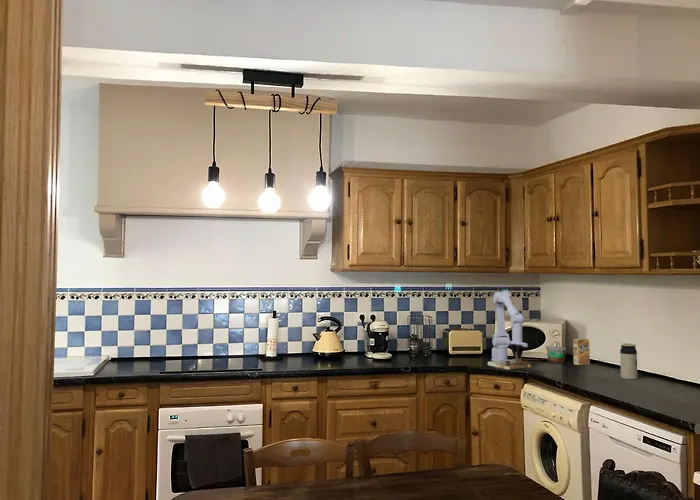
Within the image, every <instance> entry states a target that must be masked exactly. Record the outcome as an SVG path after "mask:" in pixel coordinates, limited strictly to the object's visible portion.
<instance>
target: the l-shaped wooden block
mask: <svg viewBox="0 0 700 500" xmlns="http://www.w3.org/2000/svg"><path fill="white" fill-rule="evenodd" d="M522 357H523V355H522V356H521V358H518V357H517V352H515V359H516V363H510V370H514V369H521V368H529V367H528V363H529V362H528V361H523V360H522V359H523V358H522Z"/></svg>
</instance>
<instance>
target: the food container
mask: <svg viewBox="0 0 700 500" xmlns="http://www.w3.org/2000/svg"><path fill="white" fill-rule="evenodd" d="M545 349H546V353H547V361H548V362H549V363H551V364H552V363H553V364H562V363H565V355H566V351H567V347H566V346H550V345H546V346H545Z"/></svg>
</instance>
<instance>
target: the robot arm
mask: <svg viewBox="0 0 700 500" xmlns="http://www.w3.org/2000/svg"><path fill="white" fill-rule="evenodd" d="M492 298H493V299H492V300H493V305H494V306H495V313H496V332H494V333H493V335H492V340H491V341H492V345H493V347H492V349H491V359H490V360H491V361H500V360H508V348H510V350H511V353H512V354H513V359H514V358H515V352H517V357H518V358H521V356H522V357H523V352H524V351H525V348H528V346H529V345H528V343H526V342H523V324H524V321H525V317H524V315H523V314H522V313H520V312H519V311H518V309H517V307H516V306H514V305H513V303H512V294H511V292H510V291H494V293H493V295H492ZM505 307H506V308H507V309H506V312H507V314H508V316H509V320H510V326H511V336H512V337H511V338H512V339H510V334H509V333H508V332H506V324H505V322H506V321H505ZM515 359H516V358H515Z"/></svg>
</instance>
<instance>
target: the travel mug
mask: <svg viewBox="0 0 700 500" xmlns="http://www.w3.org/2000/svg"><path fill="white" fill-rule="evenodd" d="M620 346H621V347H620V349H619V350H620V351H619V353H620V357H619V358H620V360H619V361H620V378H621V379H624V380H637V379H638V350H637V348H636V346H637V344H636V343H625V342H624V343H620Z"/></svg>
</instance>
